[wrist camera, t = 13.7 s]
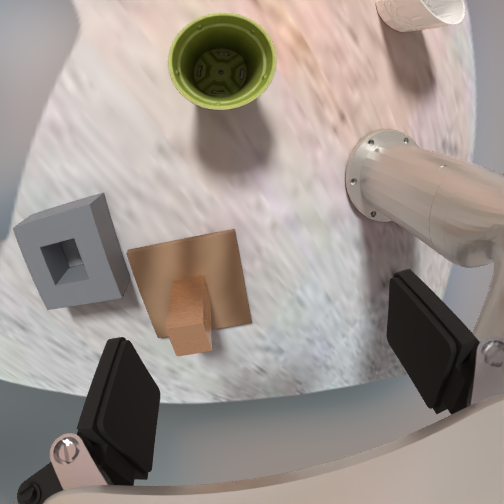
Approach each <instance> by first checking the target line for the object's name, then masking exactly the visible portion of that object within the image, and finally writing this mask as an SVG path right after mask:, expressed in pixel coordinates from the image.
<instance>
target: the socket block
mask: <svg viewBox="0 0 504 504" xmlns="http://www.w3.org/2000/svg"><path fill="white" fill-rule="evenodd" d="M13 230H14V233H15V236H16V239H17V242H18V244H19V247H20V249H21V252H22V255H23V257H24V260H25V262H26V264H27V267H28V269H29V272H30V274H31V276H32V278H33V281H34V283H35V285H36V287H37V289H38V292H39V294H40V296H41V298H42V300H43V302H44V304H45V306H46V308H47V310H50V309H57V308H64V307H70V306H77V305H83V304H89V303H96V302H102V301H108V300H114V299H120V298H122V297H123V295H124V292H125V290H126V287H127V285H128V283H129V280H130V275H129V272H128V270H127V267H126V264H125V261H124V258H123V255H122V252H121V249H120V246H119V243H118V240H117V236H116V233H115V230H114V227H113V223H112V220H111V217H110V213H109V210H108V206H107V203H106V199H105V195H104V193H101V194H98V195H94V196H90V197H87V198H83V199H80V200H77V201H73V202H70V203H67V204H63V205H60V206H57V207H54V208H51V209H48V210H44V211H41V212H38V213H35V214H32V215H30V216H29V217H28V218H26V219H25V220H23V221H22V222H21V223H19V224H18V225H16V226H15V227H14V228H13ZM73 238H74V239H75V242H76V245H77V248H78V250H79V253H80V256H81V259H82V261H83V265H78V266H74V267H69V265H68V263H67V260H66V258H65V255H64V252H63V250H62V247H61V244H60V242H61V241H65V240H69V239H73Z"/></svg>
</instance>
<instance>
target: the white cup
mask: <svg viewBox="0 0 504 504" xmlns="http://www.w3.org/2000/svg"><path fill="white" fill-rule="evenodd" d="M376 7H377V11H378V14H379V15H380V17H381V18H382V20H383V21H384V22H385V23H386V24H387V25H388V26H390V27H391V28H392V29H394V30H397V31H399V32H410V31H415V30H416V31H419V30H426V29H433V28H439V27H445V26H452V25H458V24H460V23H461V22H462V21H463V19H464V16H465V6H464V2H463V0H376Z"/></svg>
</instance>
